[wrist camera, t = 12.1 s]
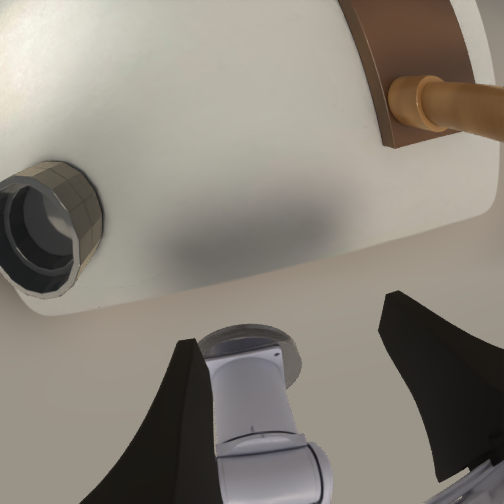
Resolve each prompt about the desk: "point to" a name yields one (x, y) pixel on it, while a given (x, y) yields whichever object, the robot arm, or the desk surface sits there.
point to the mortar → (47, 228)
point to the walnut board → (406, 53)
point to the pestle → (448, 105)
